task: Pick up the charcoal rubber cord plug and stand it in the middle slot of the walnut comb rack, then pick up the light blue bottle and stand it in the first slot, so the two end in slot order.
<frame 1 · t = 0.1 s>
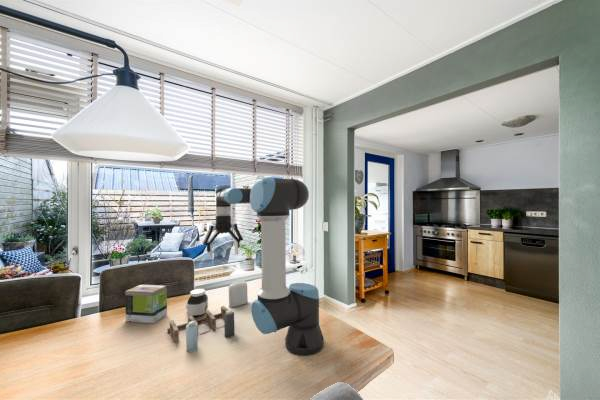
hand: (223, 256, 128), 28 cm above the table, fingers open, 13 cm apart
charcoal plug: (229, 335, 105), on the table
tea box: (146, 318, 121), on the table
light blue bottle: (192, 348, 96), on the table
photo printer: (238, 305, 135), on the table
spread jar: (195, 313, 126), on the table
comb rack: (201, 327, 112), on the table
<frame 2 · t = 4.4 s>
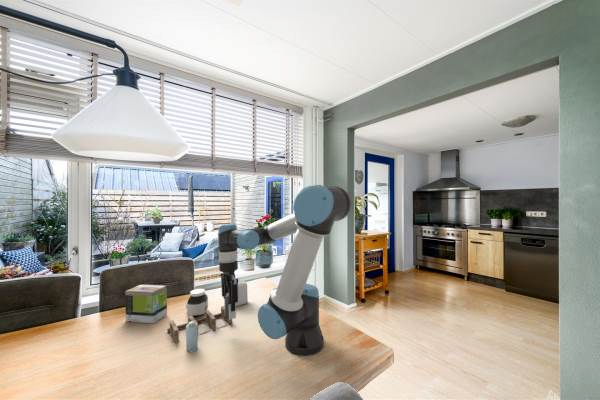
hand: (230, 316, 105), 8 cm above the table, fingers closed on charcoal plug, 4 cm apart
charcoal plug: (230, 317, 105), point 8 cm above the table, touching gripper
everything else where it was.
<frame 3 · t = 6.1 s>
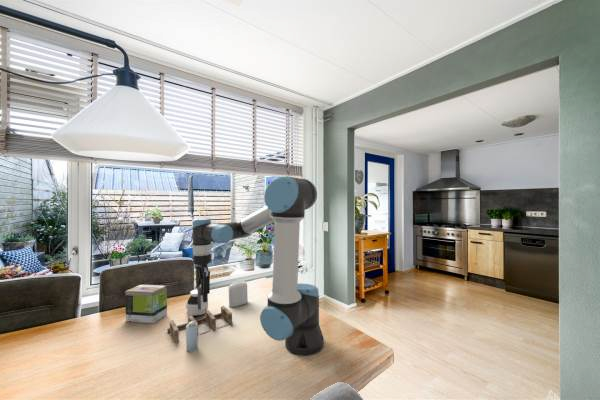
hand: (202, 306, 109), 10 cm above the table, fingers closed on charcoal plug, 4 cm apart
charcoal plug: (202, 307, 109), point 10 cm above the table, touching gripper
everything else where it was.
when the fingers open (1 cm above the table, at t = 7.9 s): charcoal plug stays where it is, on the table.
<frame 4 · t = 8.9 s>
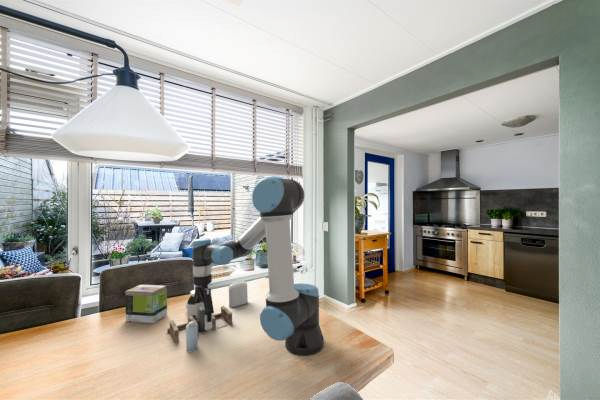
hand: (203, 322, 109), 3 cm above the table, fingers open, 13 cm apart
charcoal plug: (203, 330, 109), on the table
everything else where it was.
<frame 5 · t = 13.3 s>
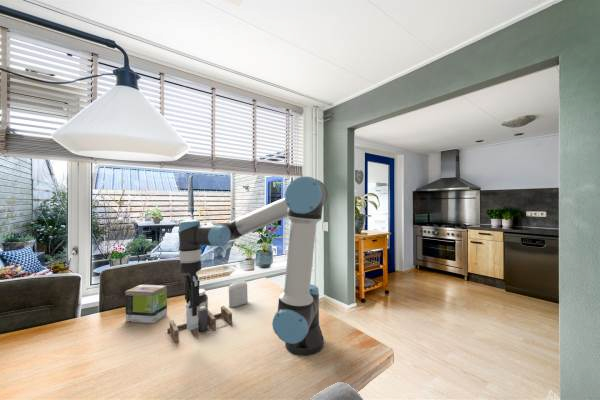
hand: (192, 321, 96), 11 cm above the table, fingers closed on light blue bottle, 4 cm apart
light blue bottle: (192, 327, 96), point 8 cm above the table, touching gripper
everything else where it was.
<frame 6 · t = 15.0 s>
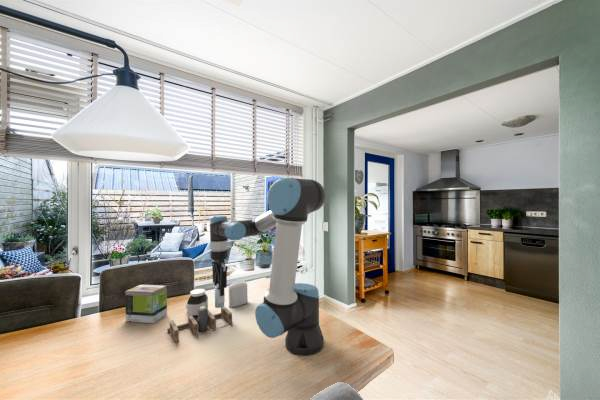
hand: (219, 300, 114), 11 cm above the table, fingers closed on light blue bottle, 3 cm apart
light blue bottle: (219, 305, 114), point 9 cm above the table, touching gripper
everything else where it was.
when the fingers open (1 cm above the table, at t = 16.9 s): light blue bottle stays where it is, on the table.
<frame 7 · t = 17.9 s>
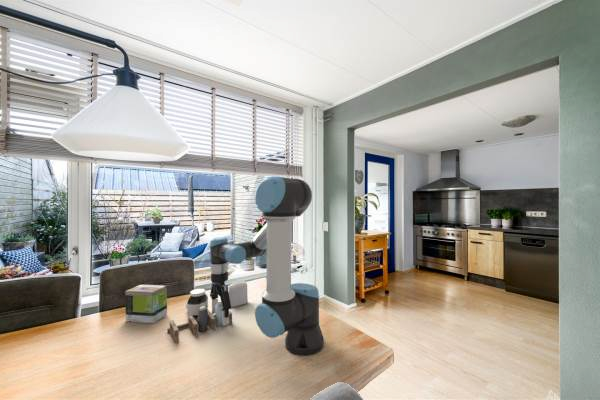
hand: (220, 318, 114), 3 cm above the table, fingers open, 13 cm apart
light blue bottle: (220, 324, 114), on the table
everything else where it was.
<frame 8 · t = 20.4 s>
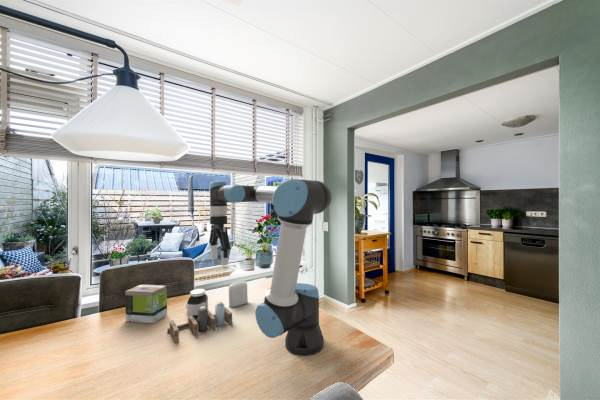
hand: (219, 262, 114), 29 cm above the table, fingers open, 13 cm apart
nothing on the table moved.
at the end: charcoal plug inside the target area (2.2 cm from its centre), on the table; light blue bottle inside the target area (2.2 cm from its centre), on the table; light blue bottle tilted 0° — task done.
